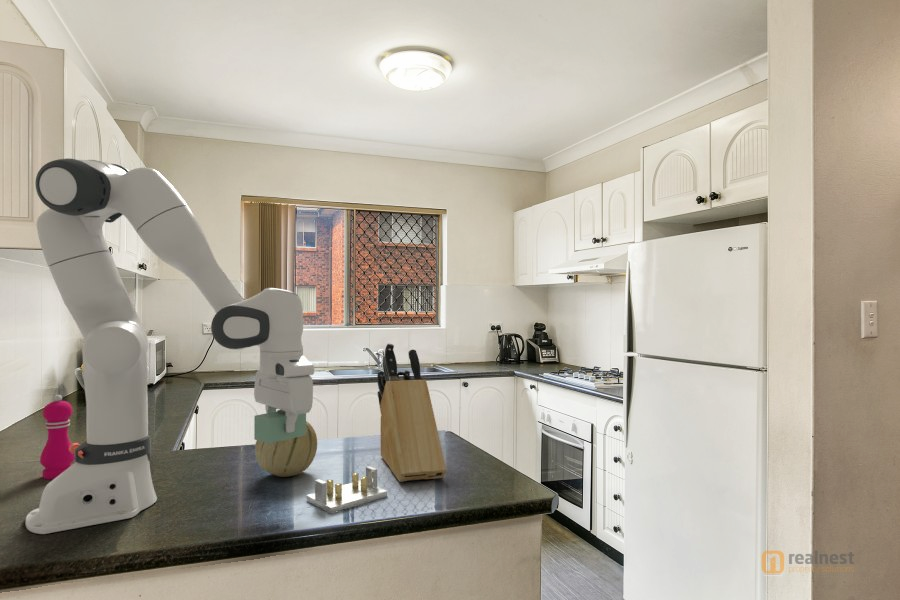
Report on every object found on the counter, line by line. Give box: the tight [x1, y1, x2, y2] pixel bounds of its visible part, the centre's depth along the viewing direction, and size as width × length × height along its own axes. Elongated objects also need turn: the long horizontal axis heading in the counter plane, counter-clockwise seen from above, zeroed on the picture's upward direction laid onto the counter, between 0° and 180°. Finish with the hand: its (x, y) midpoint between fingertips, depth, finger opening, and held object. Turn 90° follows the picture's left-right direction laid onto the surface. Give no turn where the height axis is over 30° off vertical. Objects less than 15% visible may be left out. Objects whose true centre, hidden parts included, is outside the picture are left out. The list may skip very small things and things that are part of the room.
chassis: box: [305, 465, 388, 514], centre depth 117 cm, size 14×10×5 cm
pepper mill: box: [39, 394, 75, 480], centre depth 135 cm, size 7×7×20 cm
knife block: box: [376, 343, 447, 483], centre depth 142 cm, size 11×35×31 cm, turn 18°
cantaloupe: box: [254, 420, 318, 478], centre depth 134 cm, size 15×15×15 cm
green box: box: [253, 409, 307, 444], centre depth 116 cm, size 9×6×6 cm, turn 143°
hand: (281, 428), depth 116 cm, fingers closed on green box, 6 cm apart
